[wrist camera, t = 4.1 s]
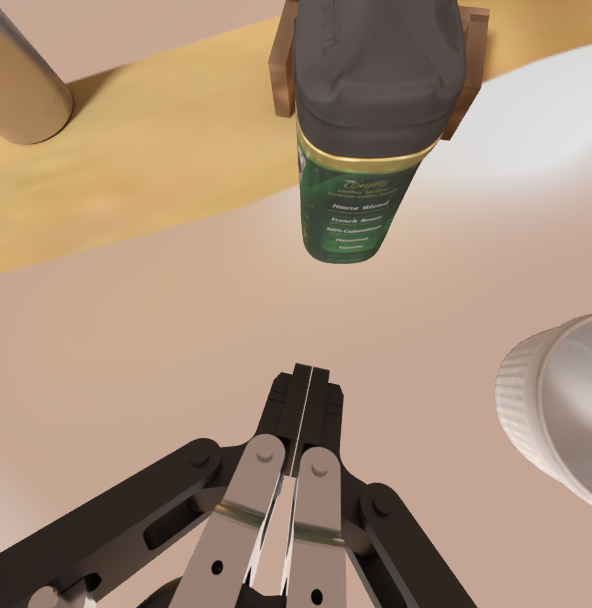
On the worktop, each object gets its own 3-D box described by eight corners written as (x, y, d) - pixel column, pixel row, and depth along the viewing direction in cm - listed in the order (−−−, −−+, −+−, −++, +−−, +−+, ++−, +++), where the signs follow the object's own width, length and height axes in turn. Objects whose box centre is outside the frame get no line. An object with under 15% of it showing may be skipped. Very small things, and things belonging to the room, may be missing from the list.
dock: (275, 115, 33) (268, 61, 28) (293, 52, 35) (289, -12, 29) (449, 140, 32) (480, 88, 26) (458, 72, 33) (489, 9, 28)
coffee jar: (384, 266, 29) (505, 93, 11) (301, 267, 29) (286, 102, 11) (379, 176, 31) (472, -94, 13) (301, 178, 32) (288, -81, 13)
